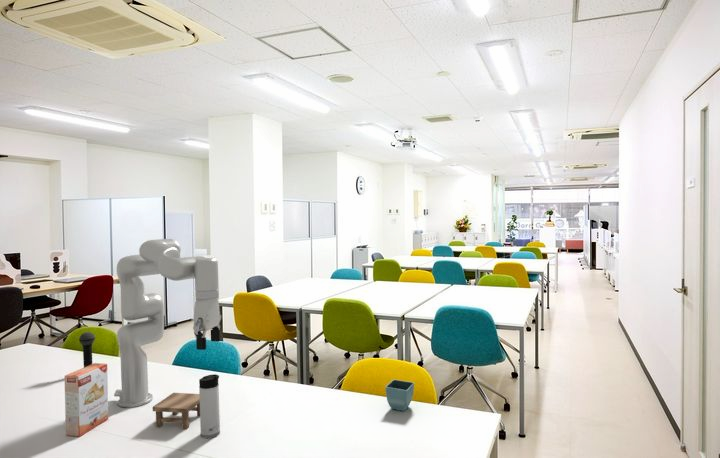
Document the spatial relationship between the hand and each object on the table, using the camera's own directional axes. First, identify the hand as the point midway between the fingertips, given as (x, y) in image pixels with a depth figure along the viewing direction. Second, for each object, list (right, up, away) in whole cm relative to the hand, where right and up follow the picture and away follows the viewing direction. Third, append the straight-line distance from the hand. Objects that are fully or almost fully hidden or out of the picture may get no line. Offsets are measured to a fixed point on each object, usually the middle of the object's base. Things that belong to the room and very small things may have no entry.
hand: (208, 345), depth 156 cm
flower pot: (+66, -29, +19) cm, 75 cm away
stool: (-14, -30, +11) cm, 35 cm away
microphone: (-78, -30, +64) cm, 105 cm away
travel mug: (0, -31, +1) cm, 31 cm away
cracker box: (-45, -31, +8) cm, 55 cm away
